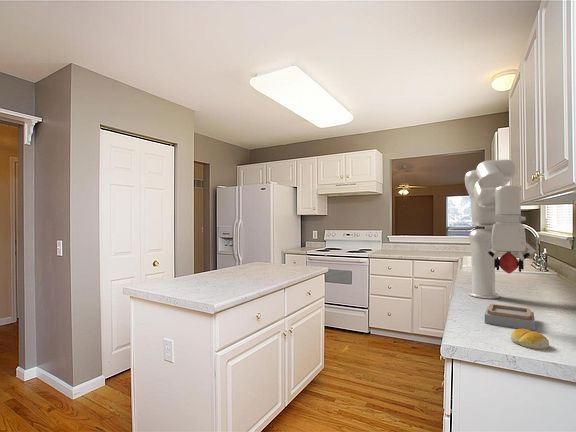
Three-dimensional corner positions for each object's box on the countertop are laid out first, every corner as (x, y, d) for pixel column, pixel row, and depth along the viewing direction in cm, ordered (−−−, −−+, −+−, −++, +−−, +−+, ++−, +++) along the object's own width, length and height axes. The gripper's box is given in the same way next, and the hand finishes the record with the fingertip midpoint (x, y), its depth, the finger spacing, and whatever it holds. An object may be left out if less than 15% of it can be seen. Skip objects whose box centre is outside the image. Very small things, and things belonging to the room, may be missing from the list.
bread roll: (525, 337, 100) (525, 324, 100) (555, 348, 91) (554, 334, 91) (503, 339, 98) (502, 326, 98) (530, 351, 89) (530, 336, 90)
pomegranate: (504, 274, 113) (503, 251, 114) (495, 272, 119) (495, 250, 119) (522, 274, 113) (521, 251, 113) (513, 272, 118) (512, 250, 118)
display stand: (487, 313, 125) (487, 302, 125) (533, 320, 116) (533, 308, 116) (484, 323, 113) (484, 311, 113) (535, 330, 105) (534, 317, 105)
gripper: (537, 220, 114) (538, 271, 114) (481, 220, 124) (481, 267, 124) (538, 219, 108) (539, 274, 108) (479, 220, 118) (479, 269, 118)
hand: (508, 270), depth 116 cm, fingers closed on pomegranate, 5 cm apart
